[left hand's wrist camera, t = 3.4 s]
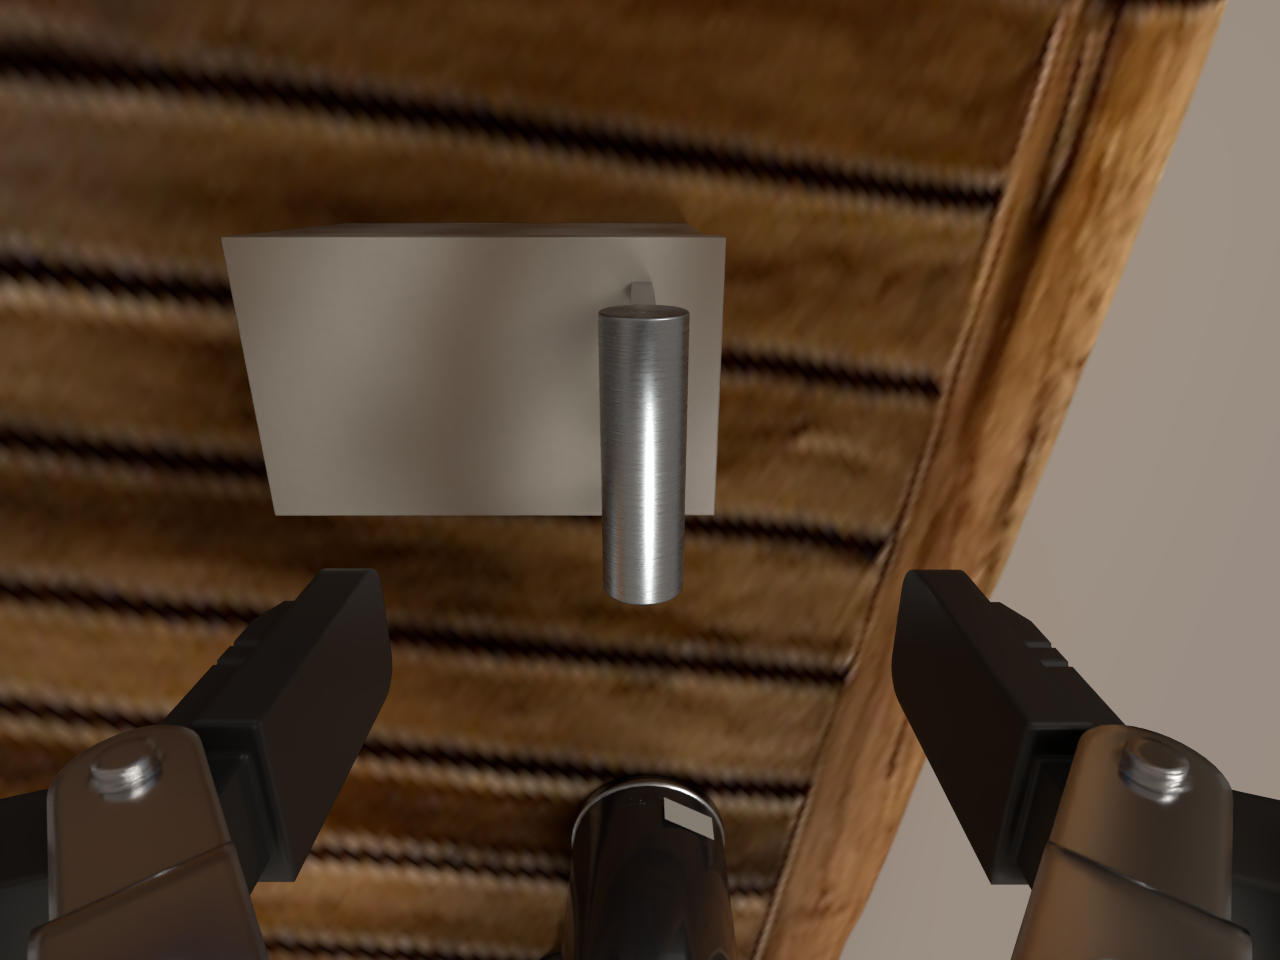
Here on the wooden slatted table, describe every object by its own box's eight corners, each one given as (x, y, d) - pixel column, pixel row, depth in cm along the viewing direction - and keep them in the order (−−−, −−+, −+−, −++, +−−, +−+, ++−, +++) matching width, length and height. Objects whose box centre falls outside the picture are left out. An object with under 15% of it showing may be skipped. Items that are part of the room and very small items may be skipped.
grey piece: (722, 235, 24) (769, 259, 16) (712, 503, 28) (745, 647, 19) (237, 235, 24) (13, 260, 16) (288, 503, 28) (128, 647, 19)
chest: (688, 223, 33) (706, 235, 24) (683, 427, 37) (698, 503, 28) (345, 223, 33) (238, 234, 24) (373, 427, 37) (288, 503, 28)
